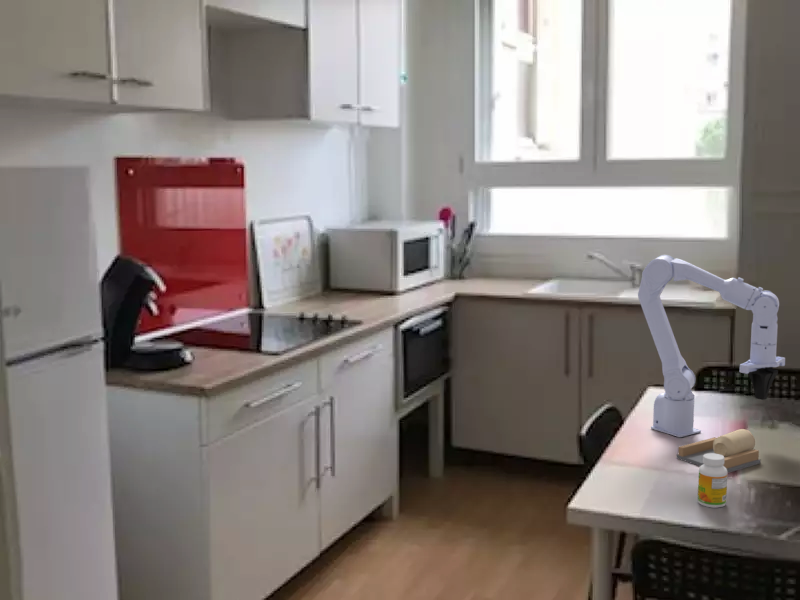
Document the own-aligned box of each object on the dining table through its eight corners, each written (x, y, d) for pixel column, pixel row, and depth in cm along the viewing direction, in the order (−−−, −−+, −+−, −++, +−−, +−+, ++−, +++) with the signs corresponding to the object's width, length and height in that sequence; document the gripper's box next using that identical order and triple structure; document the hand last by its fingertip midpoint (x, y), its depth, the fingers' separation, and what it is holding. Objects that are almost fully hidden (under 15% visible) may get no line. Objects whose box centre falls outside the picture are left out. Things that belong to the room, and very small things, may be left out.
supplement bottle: (693, 498, 186) (694, 452, 184) (719, 497, 186) (721, 451, 185) (704, 508, 181) (706, 461, 179) (730, 507, 181) (732, 460, 180)
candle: (759, 449, 209) (735, 459, 202) (738, 454, 213) (714, 464, 207) (750, 426, 210) (725, 435, 204) (730, 431, 214) (705, 440, 208)
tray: (676, 458, 211) (676, 446, 210) (712, 448, 217) (712, 436, 217) (723, 474, 200) (724, 461, 199) (760, 463, 206) (760, 451, 206)
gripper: (758, 349, 212) (756, 407, 214) (797, 341, 219) (794, 397, 221) (733, 344, 217) (730, 400, 220) (771, 337, 225) (768, 391, 227)
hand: (760, 398), depth 221 cm, fingers closed
